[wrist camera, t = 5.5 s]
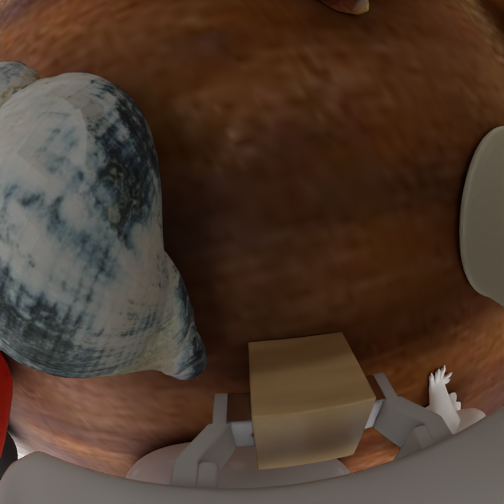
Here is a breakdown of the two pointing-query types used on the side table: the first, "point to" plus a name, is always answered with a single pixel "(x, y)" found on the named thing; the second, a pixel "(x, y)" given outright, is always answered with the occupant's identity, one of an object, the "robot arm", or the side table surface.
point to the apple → (4, 399)
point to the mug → (7, 454)
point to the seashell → (85, 234)
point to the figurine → (348, 5)
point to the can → (484, 218)
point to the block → (306, 400)
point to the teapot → (235, 469)
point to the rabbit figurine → (449, 404)
